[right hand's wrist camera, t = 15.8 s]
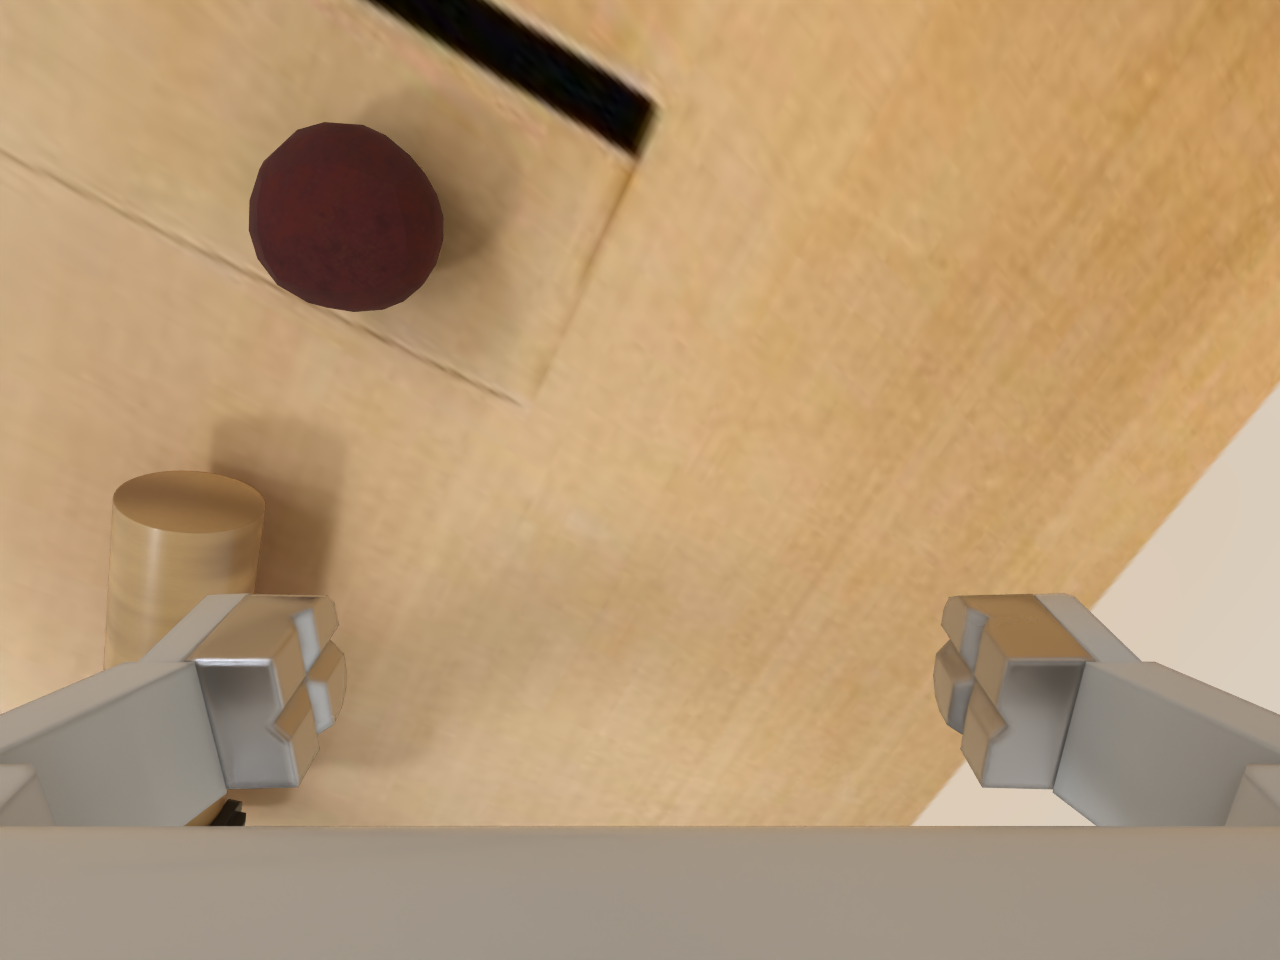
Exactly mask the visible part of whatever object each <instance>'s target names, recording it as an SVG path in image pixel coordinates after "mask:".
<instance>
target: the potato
mask: <svg viewBox="0 0 1280 960" xmlns="http://www.w3.org/2000/svg"><path fill="white" fill-rule="evenodd" d="M249 232H250V235H251V239H252V242H253V245H254V248H255V252H256V255H257V258H258V260H259V261H260V262H261V264H262V265H263V266H264V268H265V269H266V270H267V272H268V273H269V274H270V276H271V277H272V278H273V280H274V281H275V282H276V284H277V285H279V286H280V287H282V288H284V289H286V290H287V291H289V292H291V293H293V294H294V295H296V296H298V297H299V298H301V299H303V300H305V301H306V302H308V303H312V304H315V305H319V306H323V307H327V308H333V309H339V310H345V311H352V312H358V311H371V310H383V309H385V308H388V307H390V306H393V305H395V304H398V303H400V302H403V301H404V300H406V299H407V298H408V297H409V296H410V295H412V294H413V293H414V292H415V291H416V290H418V289H419V288H420V287H421V286H422V285H423V284H424V282H425V281H426V279H427V278H428V276H429V274H430V273H431V271H432V270H433V268H434V266H435V265H436V262H437V259H438V255H439V252H440V248H441V245H442V242H443V214H442V211H441V207H440V204H439V201H438V197H437V194H436V192H435V190H434V189H433V187H432V185H431V183H430V182H429V180H428V178H427V176H426V175H425V173H424V172H423V171H422V170H421V168H420V167H419V166H418V165H417V164H416V162H415V161H414V160H413V159H412V158H411V156H410V155H409V154H407V153H406V152H405V151H404V150H403V149H401V148H400V147H399V146H398V145H397V144H395V143H394V142H393V141H392V140H391V139H389V138H388V137H387V136H386V135H384V134H381V133H379V132H377V131H375V130H373V129H370V128H368V127H366V126H364V125H354V124H341V123H327V122H324V123H320V124H317V125H313V126H309V127H306V128H302V129H299V130H297V131H296V132H295V133H294V134H292V135H291V136H290V137H289V138H288V139H287V140H286V141H285V142H284V143H283V144H282V145H281V146H280V147H279V148H278V149H276V150H275V151H274V152H273V153H272V154H271V155H270V156H269V157H268V158H267V159H266V160H265V161H264V162H263V164H262V166H261V167H260V169H259V173H258V176H257V179H256V182H255V185H254V188H253V192H252V195H251V198H250V208H249Z"/></svg>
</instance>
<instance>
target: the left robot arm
mask: <svg viewBox="0 0 1280 960" xmlns="http://www.w3.org/2000/svg"><path fill="white" fill-rule="evenodd" d="M241 808H242V802H241V801H236V800H232V799H228V800H227V802H226V803H225V805H224V806H223V808H222V810H221V811H220V813H219V814H218V815H217V817H216V818H215V820H214V821H213V823H212V824H211V826H245V819H246V813H243V812H241Z"/></svg>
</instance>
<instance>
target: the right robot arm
mask: <svg viewBox="0 0 1280 960" xmlns="http://www.w3.org/2000/svg"><path fill="white" fill-rule="evenodd" d="M338 626H339V622H338V618H337V613H336V608H335V603H334V602H333V601H332V600H331V599H330V597H329V596H328V595H283V594H249V593H237V594H214V595H207V596H206V597H205V598H204V599H203V600H202V601H201V602H200V603H199V604H198V605H197V606H196V607H194V608H193V609H192V610H191V611H190V612H189V613H188V614H187V615H186V616H185V617H184V618H183V619H182V620H181V621H180V622H179V623H178V624H177V625H176V626H175V627H174V628H173V629H172V630H171V631H169V632H168V633H167V634H166V635H165V636H164V637H163V638H162V639H161V640H160V641H159V642H158V643H157V644H156V645H155V646H154V647H153V648H152V649H151V650H150V651H149V652H148V653H147V654H145V655H144V656H143V657H142V658H141V659H140V660H139V661H138V662H124V663H121V664H119V665H117V666H114V667H112V668H109V669H107V670H105V671H102V672H100V673H98V674H95V675H93V676H91V677H88V678H86V679H83V680H81V681H79V682H76V683H74V684H72V685H69V686H67V687H65V688H62V689H60V690H57V691H55V692H53V693H50V694H48V695H46V696H43V697H41V698H39V699H36V700H34V701H31V702H29V703H27V704H24V705H22V706H20V707H17V708H15V709H13V710H10V711H8V712H5V713H3V714H1V715H0V960H1280V715H1279V714H1277V713H1274V712H1272V711H1270V710H1267V709H1265V708H1262V707H1260V706H1258V705H1255V704H1253V703H1251V702H1248V701H1246V700H1244V699H1241V698H1239V697H1237V696H1234V695H1232V694H1229V693H1227V692H1225V691H1222V690H1220V689H1218V688H1215V687H1213V686H1211V685H1208V684H1206V683H1204V682H1201V681H1199V680H1196V679H1194V678H1192V677H1189V676H1187V675H1185V674H1182V673H1180V672H1178V671H1175V670H1173V669H1171V668H1168V667H1166V666H1163V665H1161V664H1159V663H1156V662H1142V661H1141V660H1140V659H1139V658H1138V657H1137V656H1136V655H1135V654H1134V653H1132V652H1131V651H1130V650H1129V649H1128V648H1127V647H1126V646H1125V645H1124V644H1123V643H1122V642H1121V641H1120V640H1119V639H1118V638H1117V637H1116V636H1115V635H1114V634H1113V633H1112V632H1111V631H1110V630H1109V629H1108V628H1107V627H1105V626H1104V625H1103V624H1102V623H1101V622H1100V621H1099V620H1098V619H1097V618H1096V617H1095V616H1094V615H1093V614H1092V613H1091V612H1090V611H1089V610H1088V609H1087V608H1086V607H1085V606H1084V605H1083V604H1082V603H1081V602H1079V601H1078V600H1077V599H1076V598H1075V597H1074V596H1071V595H1068V594H1065V593H1052V594H1014V595H973V596H953V597H949V599H948V601H947V603H946V605H945V607H944V611H943V617H942V622H941V626H942V627H943V629H944V630H945V632H946V633H947V635H948V636H949V638H950V640H949V641H948V642H947V643H946V644H945V645H944V646H943V647H942V648H941V649H940V650H939V651H938V652H937V653H936V659H935V666H934V674H933V678H934V689H935V698H936V701H937V704H938V707H939V711H940V713H941V715H942V716H943V718H944V720H945V722H946V724H947V725H948V726H950V727H951V728H953V729H954V730H956V731H958V732H959V733H961V734H962V735H963V737H962V743H961V748H960V749H961V751H962V753H963V754H964V756H965V758H966V760H967V761H968V763H969V765H970V767H971V769H972V770H973V772H974V774H975V776H976V777H977V779H978V781H979V783H980V784H981V786H982V787H987V788H1024V789H1053V793H1054V794H1056V795H1057V796H1058V797H1059V798H1061V799H1062V800H1063V801H1065V802H1066V803H1067V804H1068V805H1070V806H1071V807H1072V808H1074V809H1075V810H1076V811H1078V812H1079V813H1080V814H1082V815H1083V816H1084V817H1085V818H1087V819H1088V820H1089V821H1091V822H1092V823H1093V824H1095V825H1096V826H184V825H186V824H187V823H188V822H190V821H191V820H192V819H193V818H195V817H196V816H197V815H199V814H200V813H201V812H203V811H204V810H205V809H207V808H208V807H209V806H210V805H212V804H213V803H214V802H216V801H217V800H218V799H220V798H221V797H222V796H224V795H225V794H226V793H227V789H255V788H291V787H298V786H299V784H300V783H301V781H302V779H303V777H304V776H305V774H306V772H307V770H308V769H309V767H310V765H311V763H312V762H313V760H314V758H315V756H316V754H317V753H318V751H319V749H320V748H319V743H318V737H317V735H318V734H319V733H321V732H322V731H324V730H326V729H327V728H329V727H330V726H332V725H333V724H334V722H335V720H336V718H337V716H338V714H339V712H340V711H341V708H342V704H343V699H344V695H345V691H346V664H345V658H344V653H343V652H342V651H341V650H340V649H339V648H338V647H337V646H336V645H335V644H334V643H333V642H332V641H331V640H330V638H331V636H332V635H333V633H334V632H335V630H336V629H337V627H338Z"/></svg>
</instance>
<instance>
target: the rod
mask: <svg viewBox="0 0 1280 960" xmlns="http://www.w3.org/2000/svg"><path fill="white" fill-rule="evenodd" d="M265 508H266V506H265V501H264V498H263V497H262V495H261V494H260V493H259V492H258V491H257V490H255V489H254V488H253V487H251V486H249V485H247V484H245V483H243V482H241V481H238V480H236V479H233V478H230V477H226V476H222V475H218V474H213V473H206V472H197V471H166V472H158V473H152V474H147V475H143V476H139V477H136V478H134V479H131V480H129V481H127V482H125V483H124V484H122V485H121V486H120V487H119V488H118V489H117V490H116V492H115V493H114V496H113V506H112V524H111V542H110V561H109V579H108V598H107V616H106V635H105V653H104V671H105V670H107V669H109V668H112V667H114V666H117V665H119V664H121V663H124V662H138V661H139V660H140V659H141V658H142V657H143V656H144V655H145V654H147V653H148V652H149V651H150V650H151V649H152V648H153V647H154V646H155V645H156V644H157V643H158V642H159V641H160V640H161V639H162V638H163V637H164V636H165V635H166V634H167V633H168V632H169V631H171V630H172V629H173V628H174V627H175V626H176V625H177V624H178V623H179V622H180V621H181V620H182V619H183V618H184V617H185V616H186V615H187V614H188V613H189V612H190V611H191V610H192V609H193V608H194V607H196V606H197V605H198V604H199V603H200V602H201V601H202V600H203V599H204V598H205V597H206V596H207V595H214V594H237V593H249V594H254V590H255V582H256V575H257V567H258V560H259V553H260V545H261V538H262V530H263V523H264V515H265ZM227 791H228V789H227ZM226 799H227V793H226V794H225V795H224V796H222V797H221V798H220V799H218V800H217V801H216V802H214V803H213V804H212V805H210V806H209V807H208V808H207V809H205V810H204V811H203V812H201V813H200V814H199V815H197V816H196V817H195V818H193V819H192V820H191V821H190V822H188V823H187V824H186V825H184V826H211V824H212V823H213V821H214V820H215V818H216V817H217V815H218V814H219V813H220V811H221V810H222V808H223V806H224V805H225V803H226Z"/></svg>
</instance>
